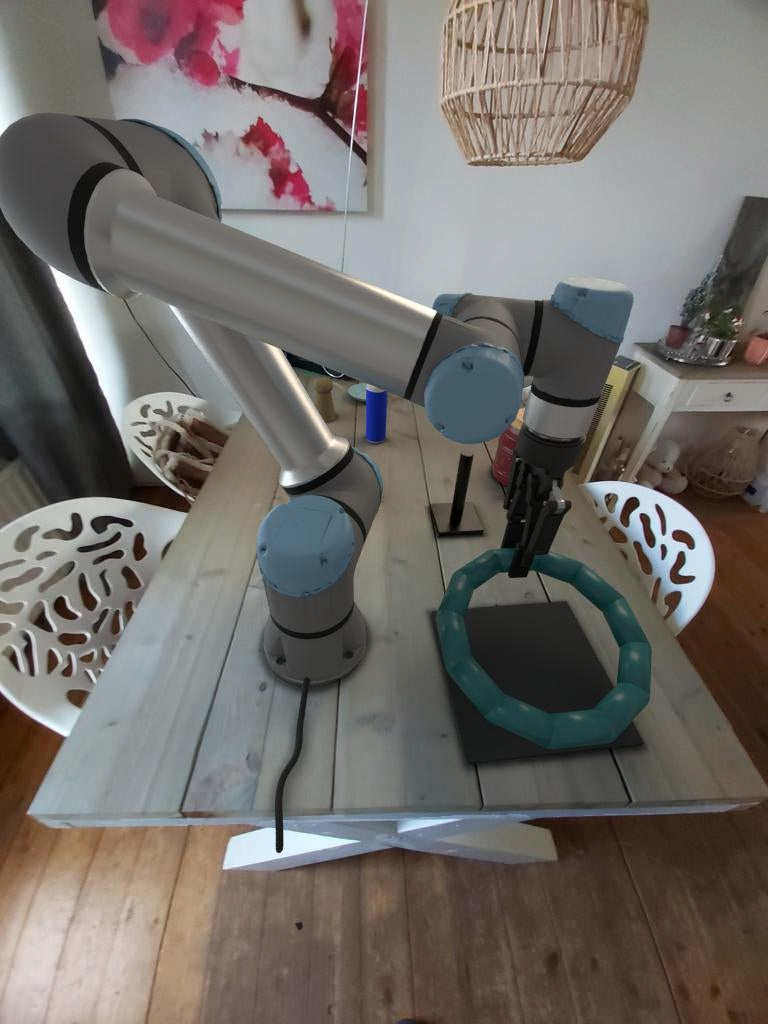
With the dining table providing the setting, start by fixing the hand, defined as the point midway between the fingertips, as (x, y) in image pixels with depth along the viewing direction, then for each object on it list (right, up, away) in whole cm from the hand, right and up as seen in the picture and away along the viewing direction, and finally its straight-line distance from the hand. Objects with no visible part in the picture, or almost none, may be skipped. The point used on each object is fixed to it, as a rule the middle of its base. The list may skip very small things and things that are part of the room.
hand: (512, 565), depth 67 cm
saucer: (-24, +43, +67) cm, 83 cm away
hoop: (+1, -8, -8) cm, 12 cm away
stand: (-5, +6, +23) cm, 24 cm away
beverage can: (-22, +27, +48) cm, 59 cm away
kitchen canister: (+12, +16, +37) cm, 42 cm away
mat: (+1, -15, -3) cm, 15 cm away
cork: (-36, +34, +56) cm, 75 cm away
